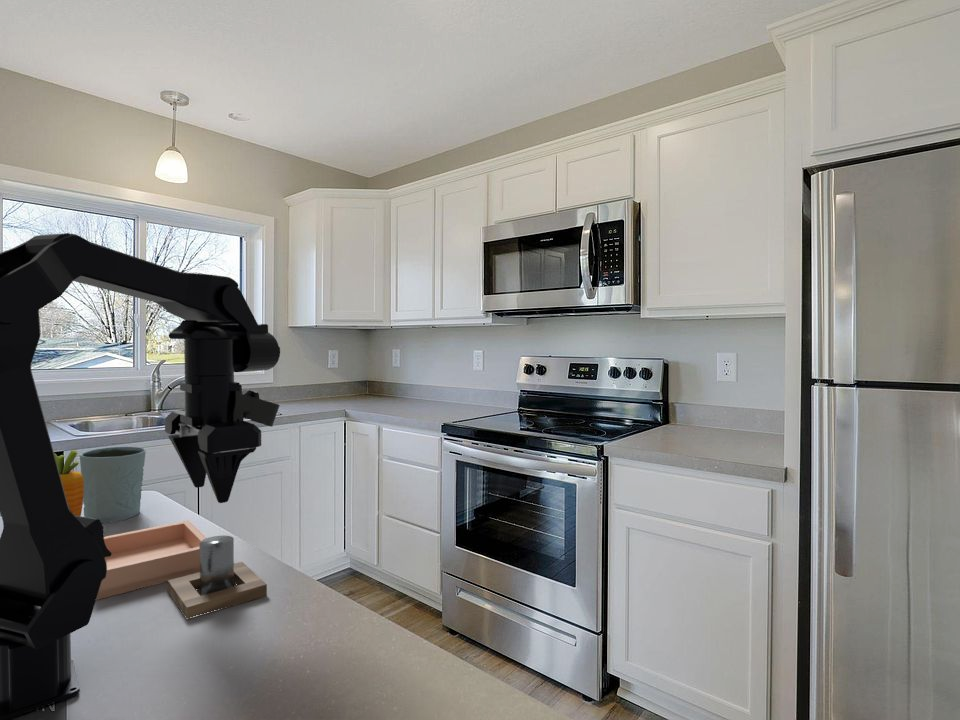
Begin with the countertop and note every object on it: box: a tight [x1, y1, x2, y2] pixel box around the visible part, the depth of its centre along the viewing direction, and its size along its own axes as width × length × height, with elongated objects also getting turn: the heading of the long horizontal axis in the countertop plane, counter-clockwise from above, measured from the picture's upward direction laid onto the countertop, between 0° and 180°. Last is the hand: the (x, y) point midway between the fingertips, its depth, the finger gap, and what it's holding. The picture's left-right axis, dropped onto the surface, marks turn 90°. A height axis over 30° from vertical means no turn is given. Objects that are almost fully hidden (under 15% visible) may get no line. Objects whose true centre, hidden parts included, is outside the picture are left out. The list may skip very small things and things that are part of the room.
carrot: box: [54, 449, 84, 517], centre depth 87 cm, size 5×5×15 cm
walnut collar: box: [167, 561, 268, 619], centre depth 71 cm, size 9×9×2 cm
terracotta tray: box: [96, 520, 207, 601], centre depth 79 cm, size 14×14×4 cm
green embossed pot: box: [79, 446, 147, 524], centre depth 101 cm, size 10×10×12 cm
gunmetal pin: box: [199, 535, 235, 596], centre depth 71 cm, size 4×4×7 cm
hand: (210, 494), depth 70 cm, fingers open, 9 cm apart
